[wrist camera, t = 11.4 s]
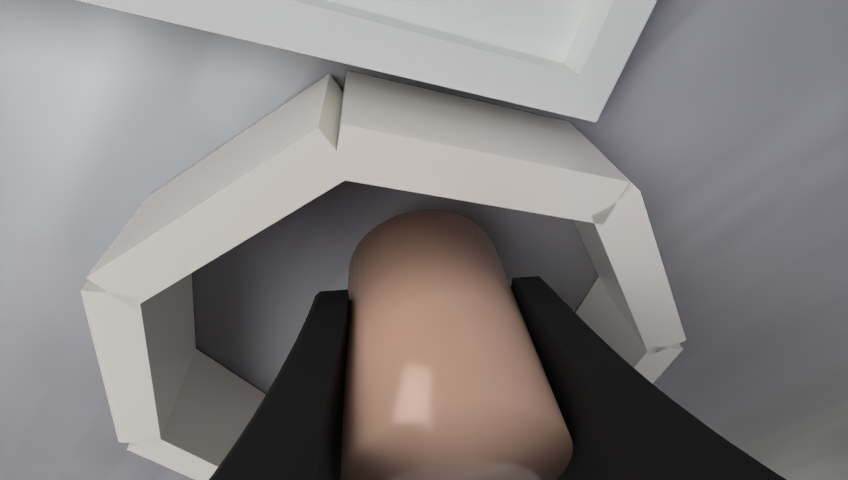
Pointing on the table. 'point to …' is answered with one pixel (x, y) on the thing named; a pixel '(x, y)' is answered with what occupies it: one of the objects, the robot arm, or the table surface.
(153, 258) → the bowl
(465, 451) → the tan rounded cylinder
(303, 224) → the table surface
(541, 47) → the parts tray
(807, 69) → the table surface
